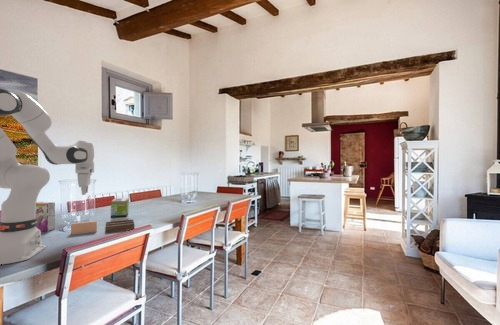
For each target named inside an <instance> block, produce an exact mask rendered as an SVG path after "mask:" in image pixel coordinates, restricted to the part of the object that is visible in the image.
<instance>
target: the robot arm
mask: <svg viewBox="0 0 500 325" xmlns="http://www.w3.org/2000/svg"><path fill="white" fill-rule="evenodd" d="M9 115H10V116H12V117H13V119H15V120H16V121H17V122H18V123H19V124H20V125H21V126H22V127H23V129H24V130H25V133H26V134H27V136H28V137H29V138H30V139H31V140H32V141H33V143H34V144H35V146H37V147H38V148H39V149H40V151H41V152H42V154H43V156H44V158H45V159H46V161H47V162H48V163H49V164H51V165H53V166H55V165H75V170H74V171H75V172H74V173H75V174H77V184H78V187H79V188H80V190H81V196H85V195H86V194H87V193H89V192H88V191H89V185H91V176H92V174H94V173H95V163H94V158H95V147H94V145H93V143H92V142H90V141H84V140H77V142H75V143H74V144H72V145H67V146H65V145H62V146H60V145H57V144H55V143H54V142H53V141H52V139H50V137H49V136H48V135H47V133H46V132H47V131H48V130H49V129H50V128H51V126H52V123H53V119H52V118H51V116H50V114H49V113H48V112H47V111H46V109H44V108H43V107H42V105H40V104H39V103H38V102H37V101H36V100H35V99H34V98H32V97H31V96H30V95H28V94H27V93H25V92H23V91H13V92H11V91H10V90H8V89H4V88H0V116H1V117H5V116H9ZM17 153H18V148H17V147H16V146H15V144H14V143H13V141H12V140H11V139H10V137H9V136H8V134H7V133H5V130H4V129H2V127H0V188H1V189H5V190H7V189H8V190H9V189H10V191H9V194H8V197H7V198H6V199H5V200H4V201H3V202H2V204H1V205H0V206H1V208H0V212H1V213H0V266H1V264H2V265H7V264H14V263H19V262H23V261H27V260H30V259H31V258H33V257H34V256H36V255H38V254H39V253H40V252H42V251H43V250H45V249H46V248H47V246H46V245H44V244H42V231H41V230H39V229H38V228H37V227H36V226H37V218H35V215H36V202H38V201H37V200H38V197H39V194H40V193H41V190H42V189H43V188H44V187H45V186H47V184H48V183H49V181H50V179H51V178H50V177H51V175H50V172H49V170H48V169H47V168H46V167H45V166H44V167H43V166H40V165H36V164H22V163H21V162H19V161H18V159H17V156H16V154H17Z"/></svg>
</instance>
